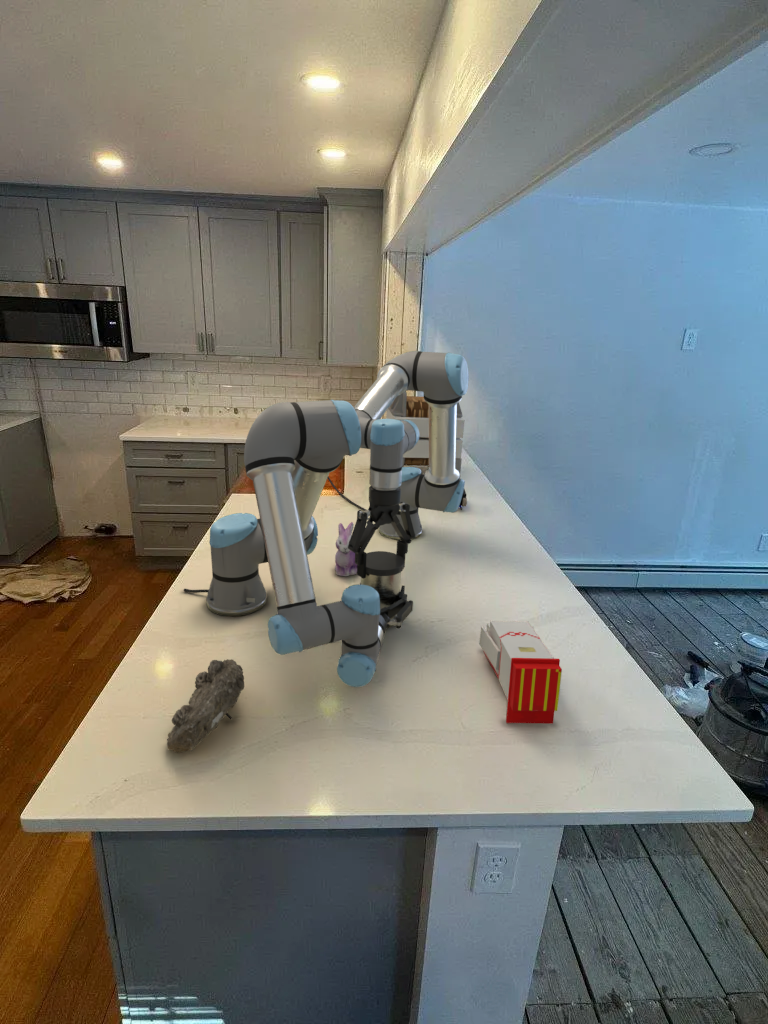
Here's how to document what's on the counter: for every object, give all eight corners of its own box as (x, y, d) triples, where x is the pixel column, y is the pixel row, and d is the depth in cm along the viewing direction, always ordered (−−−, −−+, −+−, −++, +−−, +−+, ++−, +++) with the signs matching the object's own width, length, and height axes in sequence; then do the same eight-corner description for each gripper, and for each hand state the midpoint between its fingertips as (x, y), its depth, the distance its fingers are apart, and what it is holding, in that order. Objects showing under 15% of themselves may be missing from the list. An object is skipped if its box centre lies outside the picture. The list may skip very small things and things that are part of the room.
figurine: (340, 580, 164) (341, 532, 159) (327, 566, 172) (327, 519, 167) (369, 574, 168) (371, 527, 163) (355, 561, 177) (356, 515, 171)
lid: (381, 553, 147) (381, 547, 147) (413, 567, 140) (413, 561, 140) (349, 565, 140) (349, 559, 139) (381, 580, 132) (382, 574, 132)
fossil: (192, 660, 117) (244, 628, 112) (224, 691, 120) (276, 661, 115) (142, 746, 98) (202, 712, 93) (182, 779, 101) (242, 748, 96)
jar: (378, 605, 152) (381, 550, 146) (406, 619, 145) (409, 562, 140) (351, 617, 145) (353, 560, 139) (379, 633, 138) (381, 574, 133)
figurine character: (467, 515, 225) (461, 499, 238) (469, 498, 221) (463, 482, 235) (450, 514, 224) (445, 498, 238) (452, 497, 221) (447, 482, 234)
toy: (526, 605, 135) (570, 665, 105) (521, 658, 137) (563, 730, 108) (475, 604, 134) (506, 664, 105) (472, 657, 137) (500, 729, 108)
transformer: (382, 463, 289) (386, 382, 275) (445, 464, 293) (451, 384, 279) (390, 482, 257) (394, 392, 243) (460, 483, 261) (468, 394, 247)
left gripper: (318, 642, 129) (339, 596, 149) (417, 654, 126) (425, 605, 147) (318, 612, 126) (340, 570, 147) (419, 624, 123) (427, 579, 144)
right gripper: (414, 475, 142) (409, 555, 150) (333, 488, 129) (332, 575, 137) (433, 483, 137) (427, 566, 144) (351, 498, 124) (348, 588, 131)
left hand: (382, 587), depth 147 cm, fingers closed on jar, 10 cm apart
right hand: (381, 570), depth 140 cm, fingers closed on lid, 11 cm apart
